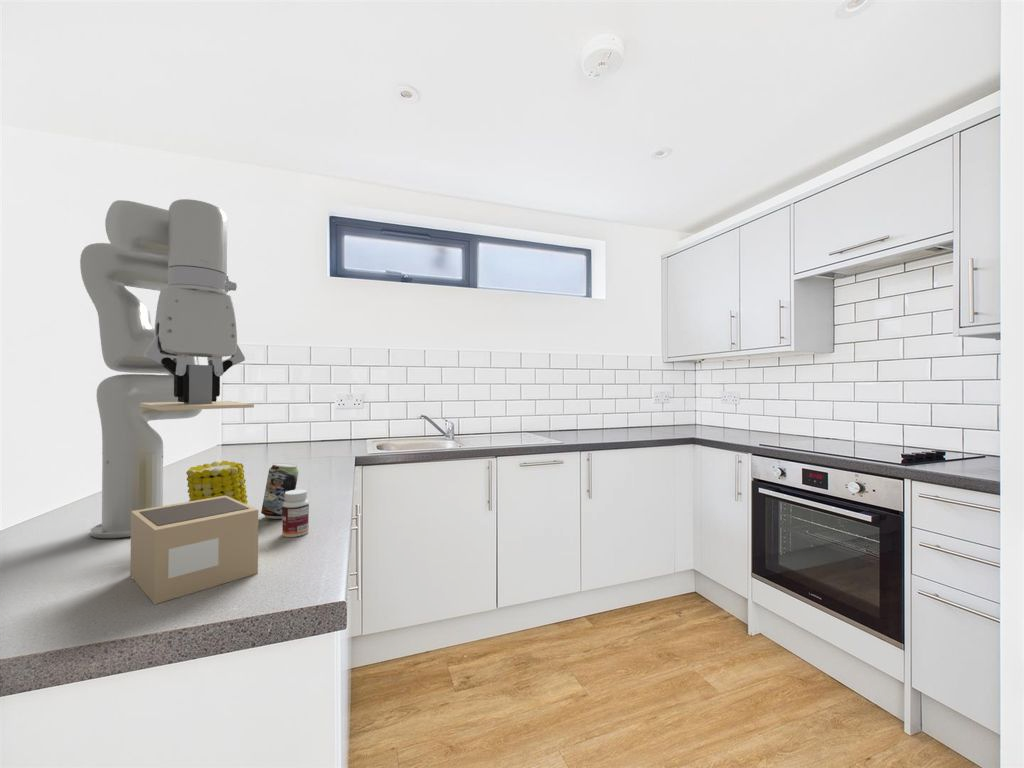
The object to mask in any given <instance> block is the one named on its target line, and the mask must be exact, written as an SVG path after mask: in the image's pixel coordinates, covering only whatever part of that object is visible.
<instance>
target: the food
mask: <svg viewBox="0 0 1024 768" xmlns="http://www.w3.org/2000/svg"><path fill="white" fill-rule="evenodd" d="M244 472H245V469H244V464H243V463H239V462H235V461H230V462H229V461H228V460H222V461H221V462H220V461H214V462H211V463H203V465H202V464H199V465H196V466H192V467H190V468H189V469H188V470H187V471H186V475H187V477H186V481H187V488H188V489H187V493H188V497H189V500H188V502H190V501H196V500H202V499H208V498H214V497H220V496H228V497H230V498H233V499H235V500H237V501H239V502H242V503H244V504H246V505H248V502H249V501H248V495H247V489H246V488H247V485H246V484H245V483H246V481H247V479H246V478H245V473H244Z"/></svg>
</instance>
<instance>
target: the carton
mask: <svg viewBox="0 0 1024 768" xmlns="http://www.w3.org/2000/svg"><path fill="white" fill-rule="evenodd" d="M129 561H130V562H129V563H130V567H129V568H130V572H129V573H130V575H131V576H132V577H133V578H132V577H131V576H130V577H131V578H132V580H133V579H134V580H135V581H136V582H135V581H134V580H133V581H134V582H135V583H136V585H137V586H138V587H139V588H140V589H141V590H142V591H143V593H144V594H145V595H146V596H147V597H148V599H149V600H150V602H152V603H153V605H157V604H160V603H164V602H166V601H169V600H173V599H177V598H180V597H183V596H187V595H189V594H190V595H191V594H193V593H194V594H195V593H197V592H200V591H203V590H206V589H210V588H213V587H216V586H220V585H224V584H227V583H230V582H233V581H237V580H240V579H243V578H247V577H250V576H254V575H257V574H258V573H259V509H258V508H255V507H253V506H251V505H249V504H247V505H246V504H244V503H242V502H239V501H237V500H235V499H233V498H230V497H228V496H220V497H214V498H208V499H202V500H196V501H190V502H189V501H185V502H178V503H173V504H167V505H163V506H160V507H153V508H147V509H141V510H135V511H131V536H130V560H129Z"/></svg>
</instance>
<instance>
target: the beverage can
mask: <svg viewBox="0 0 1024 768" xmlns="http://www.w3.org/2000/svg"><path fill="white" fill-rule="evenodd" d="M297 466H298V465H296V464H293V463H285V462H275V463H273V464H272V466H271V467H270V468H269V469H268V474H267V479H266V484H265V488H264V489H265V490H264V496H263V501H262V505H261V507H262V508H261V512H260V513H261V514H262V515H264V517H265V518H268V519H282V515H283V514H282V505H283V503H284V502H285V492H287V491H291V490H297V483H298V482H297V481H298V478H299V470H298V468H297Z"/></svg>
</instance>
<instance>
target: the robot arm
mask: <svg viewBox="0 0 1024 768" xmlns="http://www.w3.org/2000/svg"><path fill="white" fill-rule="evenodd" d="M104 224H105V233H106V236H107V239H108V241H109V243H107V242H97V243H90V244H88V245H86V246H85V247H84V248H83V249H82V251H81V254H80V258H79V259H80V260H79V264H80V265H79V266H80V267H79V268H80V273H81V274H80V275H81V279H82V282H83V285H84V288H85V290H86V292H87V294H88V297H89V298H90V300H91V301H92V302H91V303H92V304H93V306H94V307H95V309H96V312H97V316H98V326H99V337H100V346H101V353H102V355H101V356H102V358H103V361H104V363H105V365H106V366H107V368H108V369H110V370H112V371H114V372H115V371H116V372H119V373H123V374H116V375H113V376H112V375H111V376H109V377H106V378H104V379H103V380H102V381H100V383H99V384H98V386H97V389H96V404H97V408H98V413H99V418H100V425H101V441H102V443H101V444H102V446H101V448H102V450H101V452H102V453H101V455H102V457H101V459H102V462H101V463H102V464H101V465H102V470H101V475H102V476H101V477H102V479H101V481H102V482H101V523H100V524H97V525H95V526H93V527H92V528H91V529H90V536H91V537H93V538H95V539H96V538H97V539H121V538H128V537H131V511H135V510H141V509H147V508H153V507H160V506H164V441H163V439H162V436H161V435H160V434H159V433H158V432H157V431H156V430H155V429H154V428H153V427H152V426H150V424H149V423H148V422H150V421H157V420H158V421H159V420H163V421H164V420H178V419H179V420H181V419H191V418H195V417H197V416H198V415H200V414H201V412H202V411H203V409H192V410H161V411H159V410H155V409H151V408H146V407H142V406H140V403H156V402H188V401H189V377H188V376H187V372H186V365H200V361H199V358H207V359H206V360H207V365H212V402H216V401H218V400H217V399H218V398H217V397H220V395H221V377H222V376H223V375H224V374H225V373H226V371H228V370H229V369H230V368H232V367H233V366H235V365H238V364H241V363H243V362H244V361H245V360H246V357H245V355H244V354H243V352H242V350H241V348H240V347H239V345H238V333H237V332H238V331H237V321H236V315H235V308H234V303H233V299H232V296H231V295H230V294H227V293H228V292H230V291H231V292H232V291H233V292H236V290H237V288H238V286H237V285H238V284H237V283H236V282H234V281H233V282H232V281H230V279H229V276H228V275H227V274H228V269H227V268H228V218H227V215H226V213H225V212H224V211H223V210H222V209H221V208H220V207H218V206H217V205H214V204H212V203H209V202H207V201H202V200H197V199H189V198H188V199H185V198H184V199H177V200H174V201H173V202H171V203H170V205H169V207H168V209H164V208H161V207H157V206H153V205H148V204H144V203H141V202H136V201H131V200H122V199H121V200H120V199H119V200H114V201H113V202H112V203H111V204H110V206H109V208H108V210H107V211H106V217H105V223H104ZM126 287H130V288H131V287H132V288H137V289H143V290H144V289H145V290H150V291H151V290H152V291H158V292H159V295H158V298H157V299H158V300H157V304H156V311H155V319H154V328H153V326H152V321H151V314H150V311H149V308H148V307H147V306H146V305H145V304H144V303H143V302H142V301H141V300H140V299H139V298H138V297H137V296H136V295H135V294H134V293H132V292H130V291H129V289H127V288H126ZM223 357H229V358H227V359H224V360H223ZM124 373H126V374H124ZM129 373H130V374H129Z"/></svg>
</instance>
